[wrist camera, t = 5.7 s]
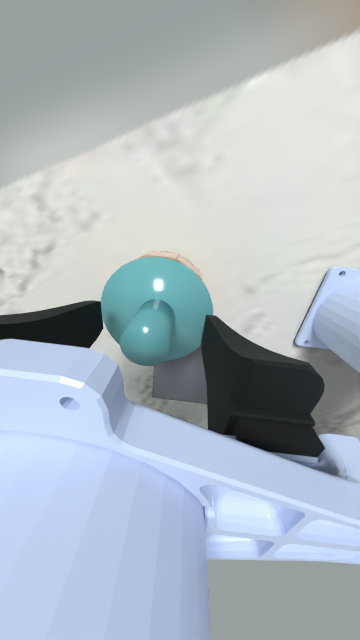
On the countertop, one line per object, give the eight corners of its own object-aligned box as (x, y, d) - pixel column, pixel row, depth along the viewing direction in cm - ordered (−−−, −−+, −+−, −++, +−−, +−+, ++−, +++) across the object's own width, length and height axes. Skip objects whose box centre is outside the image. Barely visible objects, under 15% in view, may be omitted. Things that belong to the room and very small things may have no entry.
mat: (237, 347, 19) (238, 349, 19) (220, 402, 23) (220, 405, 23) (156, 337, 19) (155, 339, 19) (153, 394, 23) (152, 397, 23)
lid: (224, 268, 12) (243, 286, 8) (199, 362, 16) (202, 408, 12) (103, 246, 12) (56, 252, 8) (106, 346, 16) (76, 388, 12)
